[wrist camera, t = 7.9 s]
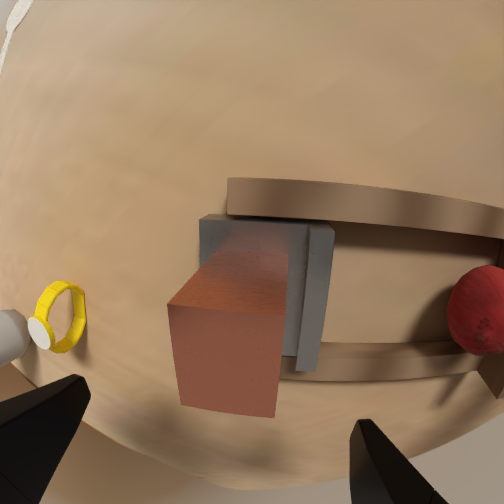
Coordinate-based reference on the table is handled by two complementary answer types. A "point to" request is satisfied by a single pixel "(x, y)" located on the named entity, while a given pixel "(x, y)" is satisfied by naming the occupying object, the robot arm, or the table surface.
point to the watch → (39, 321)
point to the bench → (385, 213)
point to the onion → (478, 311)
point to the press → (250, 310)
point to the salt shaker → (13, 336)
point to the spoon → (14, 25)
